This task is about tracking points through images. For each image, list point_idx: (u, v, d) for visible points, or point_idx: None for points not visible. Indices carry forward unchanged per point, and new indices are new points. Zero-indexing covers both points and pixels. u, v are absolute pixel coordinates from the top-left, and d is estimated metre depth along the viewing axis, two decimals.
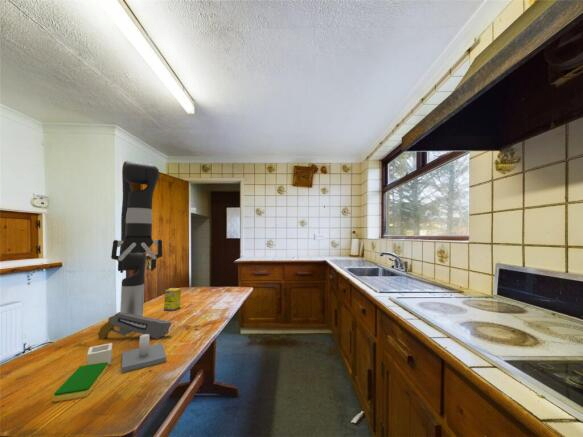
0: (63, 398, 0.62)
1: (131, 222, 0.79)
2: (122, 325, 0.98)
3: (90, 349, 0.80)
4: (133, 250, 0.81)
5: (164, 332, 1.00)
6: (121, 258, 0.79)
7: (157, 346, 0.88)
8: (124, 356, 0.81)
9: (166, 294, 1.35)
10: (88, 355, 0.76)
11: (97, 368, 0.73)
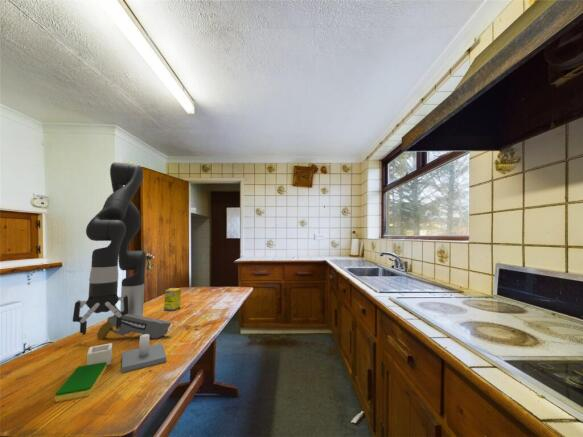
0: (65, 398, 0.62)
1: (94, 283, 0.78)
2: (121, 325, 0.98)
3: (90, 349, 0.80)
4: (96, 310, 0.79)
5: (163, 332, 1.00)
6: (83, 320, 0.77)
7: (157, 346, 0.88)
8: (124, 356, 0.81)
9: (166, 294, 1.35)
10: (88, 355, 0.76)
11: (96, 368, 0.73)
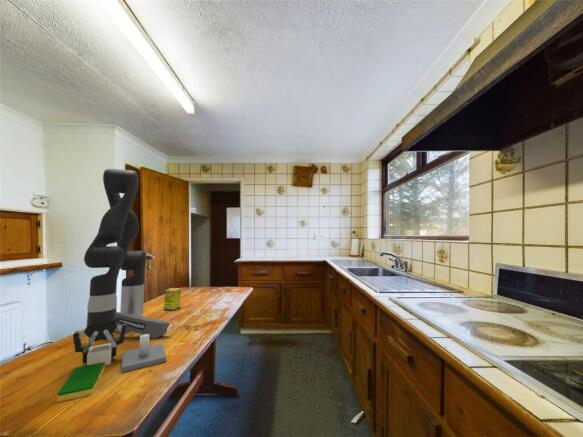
0: (67, 397, 0.62)
1: (92, 311, 0.77)
2: None
3: (90, 349, 0.80)
4: (97, 338, 0.79)
5: (162, 332, 1.00)
6: (86, 350, 0.77)
7: (157, 346, 0.88)
8: (124, 356, 0.81)
9: (166, 294, 1.35)
10: (88, 355, 0.76)
11: (96, 368, 0.73)
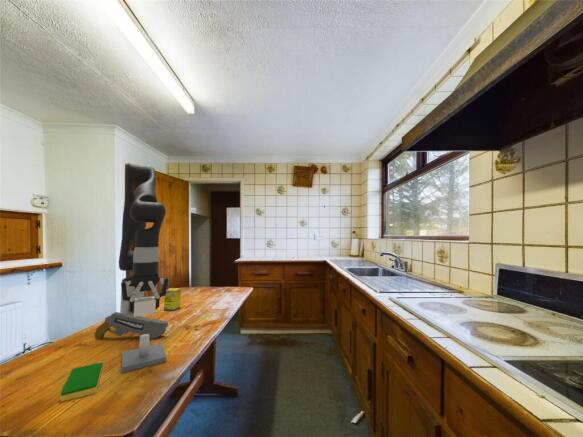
0: (71, 397, 0.62)
1: (138, 262, 0.81)
2: (118, 325, 0.98)
3: (135, 299, 0.83)
4: (142, 288, 0.82)
5: (161, 332, 1.00)
6: (132, 299, 0.81)
7: (157, 346, 0.88)
8: (124, 356, 0.81)
9: (166, 294, 1.35)
10: (135, 303, 0.79)
11: (94, 368, 0.73)
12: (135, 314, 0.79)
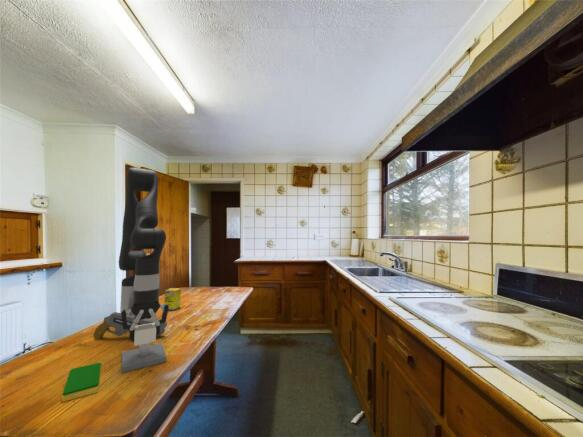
0: (73, 397, 0.62)
1: (139, 290, 0.80)
2: (117, 325, 0.98)
3: (136, 327, 0.82)
4: (142, 316, 0.82)
5: (160, 332, 0.99)
6: (133, 327, 0.80)
7: (157, 346, 0.88)
8: (124, 356, 0.81)
9: (166, 294, 1.35)
10: (135, 332, 0.79)
11: (93, 368, 0.73)
12: (135, 343, 0.79)
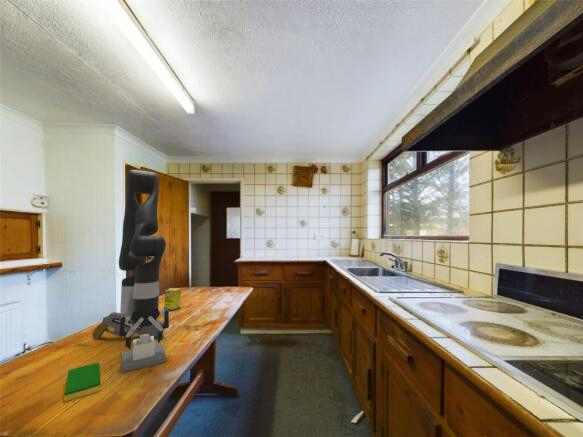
0: (75, 396, 0.63)
1: (138, 298, 0.80)
2: (116, 325, 0.98)
3: (134, 341, 0.82)
4: (140, 324, 0.82)
5: None
6: (129, 334, 0.80)
7: (157, 346, 0.88)
8: (124, 356, 0.81)
9: (166, 294, 1.35)
10: (134, 347, 0.79)
11: (93, 368, 0.73)
12: (134, 358, 0.79)
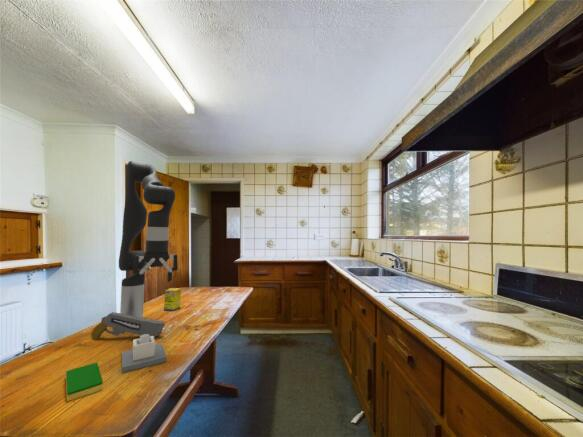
0: (78, 396, 0.63)
1: (151, 240, 0.89)
2: (115, 325, 0.98)
3: (134, 341, 0.82)
4: (152, 264, 0.91)
5: (157, 332, 0.99)
6: (142, 272, 0.89)
7: (157, 346, 0.88)
8: (124, 356, 0.81)
9: (166, 294, 1.35)
10: (134, 347, 0.79)
11: (92, 368, 0.73)
12: (134, 358, 0.79)
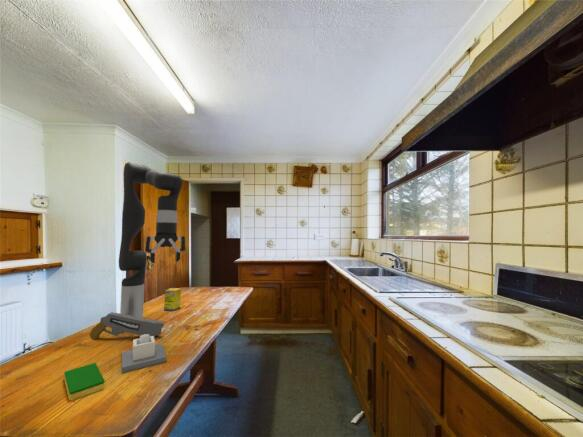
0: (80, 395, 0.63)
1: (161, 221, 0.97)
2: (114, 325, 0.98)
3: (134, 341, 0.82)
4: (162, 244, 0.99)
5: (156, 332, 0.99)
6: (153, 251, 0.97)
7: (157, 346, 0.88)
8: (124, 356, 0.81)
9: (166, 294, 1.35)
10: (134, 347, 0.79)
11: (91, 368, 0.73)
12: (134, 358, 0.79)
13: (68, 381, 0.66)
